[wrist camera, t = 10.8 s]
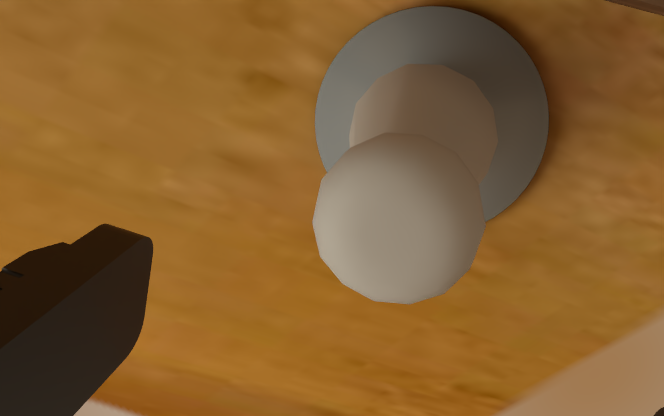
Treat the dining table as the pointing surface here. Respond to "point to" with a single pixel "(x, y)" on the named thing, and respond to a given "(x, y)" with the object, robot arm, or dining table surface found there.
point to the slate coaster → (461, 56)
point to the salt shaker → (408, 186)
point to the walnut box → (643, 5)
